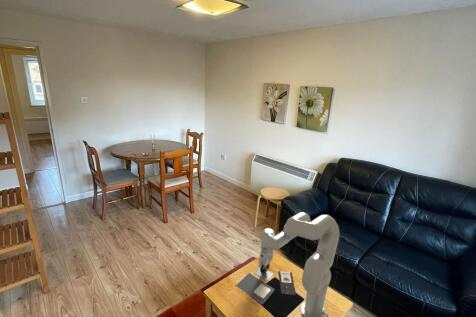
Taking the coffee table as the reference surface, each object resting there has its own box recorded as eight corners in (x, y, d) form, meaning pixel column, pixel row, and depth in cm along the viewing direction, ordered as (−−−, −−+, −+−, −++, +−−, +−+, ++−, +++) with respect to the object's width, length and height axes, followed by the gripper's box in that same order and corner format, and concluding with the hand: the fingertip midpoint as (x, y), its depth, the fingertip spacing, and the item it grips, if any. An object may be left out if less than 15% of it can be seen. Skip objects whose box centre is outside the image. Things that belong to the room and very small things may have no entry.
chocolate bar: (281, 293, 146) (278, 271, 163) (281, 294, 147) (278, 272, 164) (296, 295, 146) (291, 272, 163) (295, 296, 146) (291, 273, 163)
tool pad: (273, 274, 161) (273, 274, 161) (267, 281, 155) (267, 281, 155) (261, 267, 167) (261, 266, 167) (254, 273, 161) (254, 273, 161)
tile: (261, 285, 152) (270, 291, 148) (253, 293, 146) (263, 299, 142) (261, 283, 151) (270, 289, 147) (253, 291, 145) (263, 298, 141)
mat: (274, 289, 149) (274, 289, 149) (262, 305, 139) (262, 304, 139) (249, 273, 161) (249, 272, 161) (235, 286, 151) (235, 285, 151)
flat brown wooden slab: (267, 271, 162) (268, 259, 158) (263, 275, 158) (264, 263, 155) (264, 269, 163) (266, 257, 160) (260, 273, 159) (261, 261, 156)
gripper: (264, 256, 145) (262, 280, 151) (278, 243, 158) (276, 265, 164) (254, 251, 150) (252, 274, 155) (269, 238, 162) (266, 260, 168)
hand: (264, 269), depth 159 cm, fingers closed on flat brown wooden slab, 4 cm apart
